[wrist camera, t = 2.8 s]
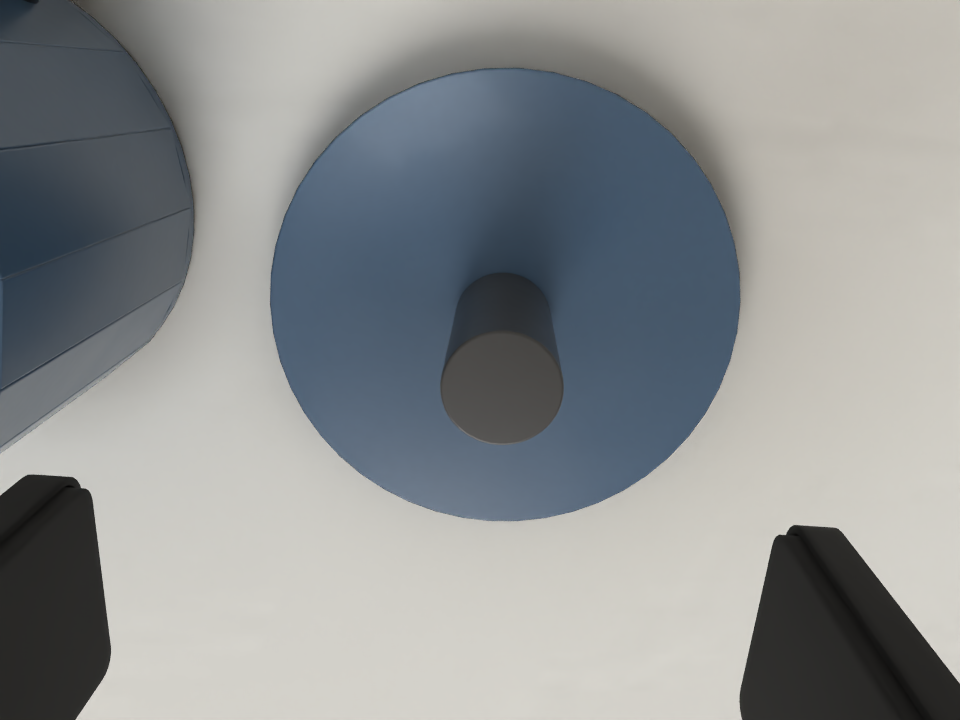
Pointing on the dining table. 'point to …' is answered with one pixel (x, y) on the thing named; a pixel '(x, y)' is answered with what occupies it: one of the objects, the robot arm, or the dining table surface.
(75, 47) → the teapot
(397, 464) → the teapot lid
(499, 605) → the dining table surface
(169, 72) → the dining table surface
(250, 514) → the dining table surface
